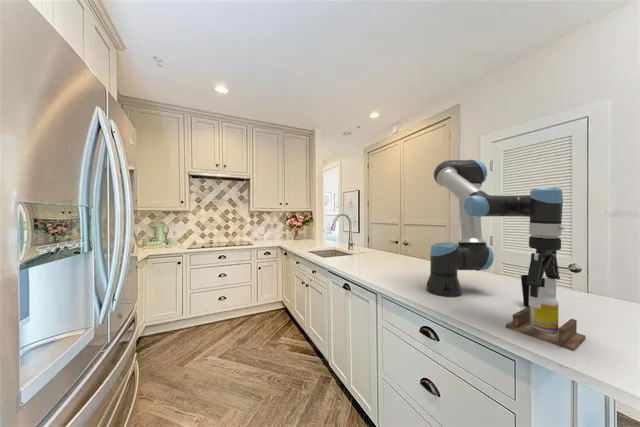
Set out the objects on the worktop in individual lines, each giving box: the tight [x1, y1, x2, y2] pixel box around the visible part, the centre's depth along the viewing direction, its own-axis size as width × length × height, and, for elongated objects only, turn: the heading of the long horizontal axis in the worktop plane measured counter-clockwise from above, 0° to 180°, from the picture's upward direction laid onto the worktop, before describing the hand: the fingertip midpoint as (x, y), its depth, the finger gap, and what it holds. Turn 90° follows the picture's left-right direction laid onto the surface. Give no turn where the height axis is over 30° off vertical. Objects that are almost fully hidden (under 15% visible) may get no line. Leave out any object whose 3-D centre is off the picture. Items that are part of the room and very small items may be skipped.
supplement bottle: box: [530, 287, 559, 333], centre depth 77 cm, size 7×7×13 cm
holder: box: [505, 306, 586, 352], centre depth 77 cm, size 16×12×5 cm
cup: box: [520, 274, 546, 308], centre depth 99 cm, size 8×8×12 cm
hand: (542, 302), depth 78 cm, fingers open, 13 cm apart
